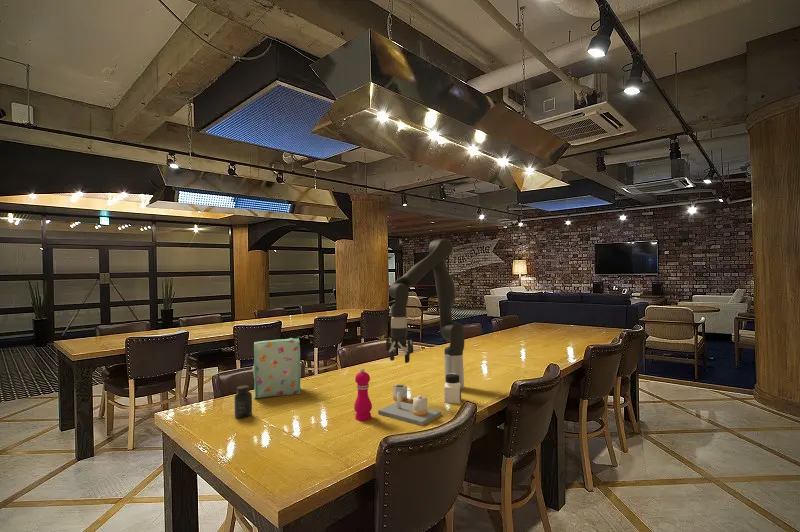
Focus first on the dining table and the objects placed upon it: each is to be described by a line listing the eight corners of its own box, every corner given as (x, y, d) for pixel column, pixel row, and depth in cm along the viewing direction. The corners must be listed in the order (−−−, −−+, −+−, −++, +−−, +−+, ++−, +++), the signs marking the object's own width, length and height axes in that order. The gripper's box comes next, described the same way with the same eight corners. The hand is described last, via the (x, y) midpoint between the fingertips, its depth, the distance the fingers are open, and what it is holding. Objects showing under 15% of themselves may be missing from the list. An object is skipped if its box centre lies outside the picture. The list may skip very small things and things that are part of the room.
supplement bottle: (255, 413, 165) (255, 385, 166) (244, 419, 159) (244, 389, 159) (242, 412, 168) (242, 384, 168) (230, 417, 161) (230, 388, 161)
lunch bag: (300, 386, 205) (299, 334, 206) (302, 395, 190) (301, 339, 190) (253, 391, 198) (252, 337, 198) (252, 401, 182) (251, 343, 183)
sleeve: (391, 400, 180) (390, 387, 180) (399, 396, 185) (399, 383, 185) (400, 402, 177) (400, 389, 177) (409, 398, 182) (408, 385, 182)
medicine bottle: (460, 403, 173) (459, 376, 173) (444, 403, 175) (443, 376, 175) (461, 398, 180) (460, 372, 180) (445, 398, 182) (445, 372, 182)
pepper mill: (358, 422, 153) (357, 371, 154) (351, 416, 160) (350, 367, 160) (374, 419, 157) (374, 369, 157) (367, 413, 163) (367, 365, 164)
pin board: (398, 404, 174) (398, 384, 174) (441, 414, 160) (440, 393, 160) (378, 413, 163) (377, 392, 163) (421, 425, 149) (421, 402, 149)
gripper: (416, 326, 180) (416, 361, 180) (392, 324, 189) (392, 358, 188) (406, 328, 174) (407, 365, 174) (382, 326, 183) (382, 361, 182)
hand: (399, 361), depth 181 cm, fingers open, 8 cm apart
